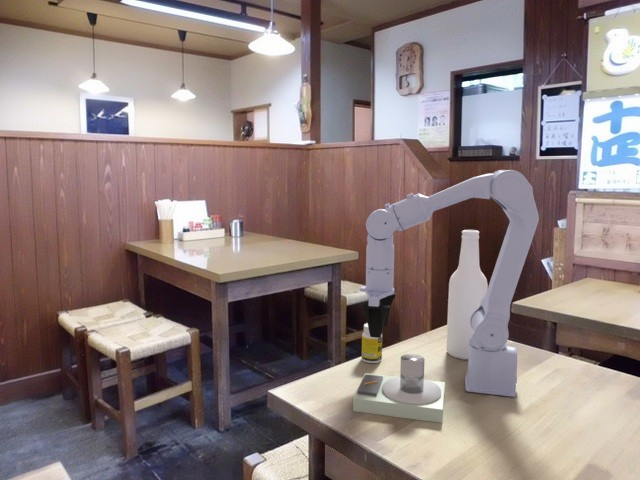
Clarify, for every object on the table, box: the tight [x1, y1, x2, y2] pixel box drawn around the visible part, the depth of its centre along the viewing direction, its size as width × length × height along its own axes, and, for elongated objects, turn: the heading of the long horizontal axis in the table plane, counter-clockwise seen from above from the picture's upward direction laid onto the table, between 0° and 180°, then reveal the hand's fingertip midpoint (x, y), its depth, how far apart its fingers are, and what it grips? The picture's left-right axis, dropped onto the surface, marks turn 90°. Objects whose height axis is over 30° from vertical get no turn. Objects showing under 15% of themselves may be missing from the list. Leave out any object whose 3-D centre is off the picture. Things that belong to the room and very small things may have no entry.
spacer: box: [399, 353, 425, 394], centre depth 96 cm, size 4×4×6 cm
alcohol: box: [445, 229, 489, 361], centre depth 121 cm, size 9×9×30 cm
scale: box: [352, 373, 446, 424], centre depth 98 cm, size 16×12×3 cm
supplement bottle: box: [361, 322, 383, 364], centre depth 119 cm, size 5×5×8 cm
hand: (378, 331), depth 107 cm, fingers open, 7 cm apart
